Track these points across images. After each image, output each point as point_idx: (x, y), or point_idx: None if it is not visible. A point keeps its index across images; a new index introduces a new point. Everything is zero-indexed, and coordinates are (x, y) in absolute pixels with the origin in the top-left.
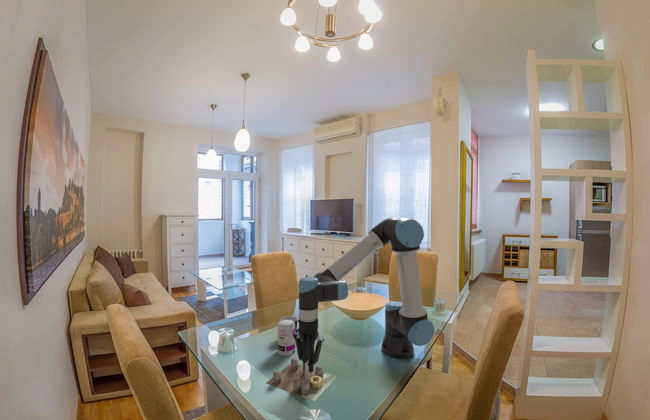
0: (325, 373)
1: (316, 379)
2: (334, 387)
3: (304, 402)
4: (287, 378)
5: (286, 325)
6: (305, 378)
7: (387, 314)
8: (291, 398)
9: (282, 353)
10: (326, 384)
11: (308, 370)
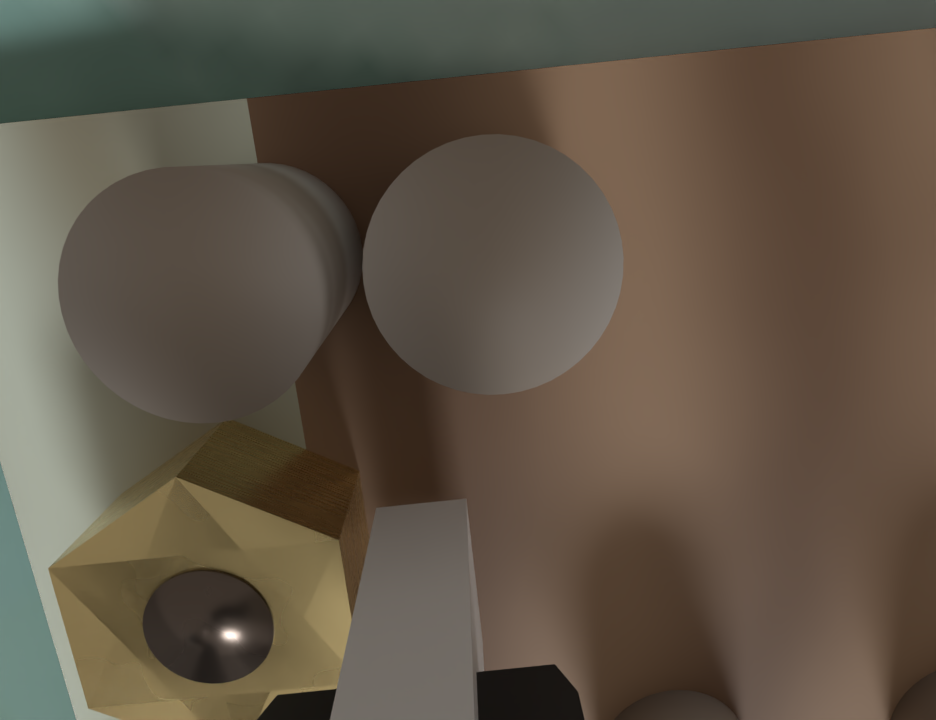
0: None
1: (188, 629)
2: (45, 715)
3: (163, 75)
4: (910, 413)
5: None
6: (450, 527)
7: None
8: (465, 15)
9: None
10: None
11: (343, 705)
